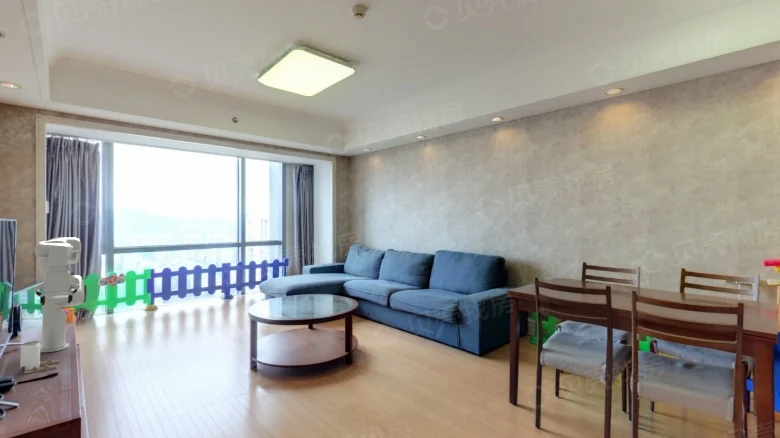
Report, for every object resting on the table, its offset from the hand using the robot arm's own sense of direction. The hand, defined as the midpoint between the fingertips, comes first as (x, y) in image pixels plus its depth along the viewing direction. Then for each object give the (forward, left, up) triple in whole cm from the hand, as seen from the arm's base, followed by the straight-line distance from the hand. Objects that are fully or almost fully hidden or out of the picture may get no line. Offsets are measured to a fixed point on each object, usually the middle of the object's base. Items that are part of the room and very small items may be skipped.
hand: (56, 303), depth 181 cm
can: (+8, -7, -28) cm, 30 cm away
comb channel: (+8, -4, -28) cm, 30 cm away
